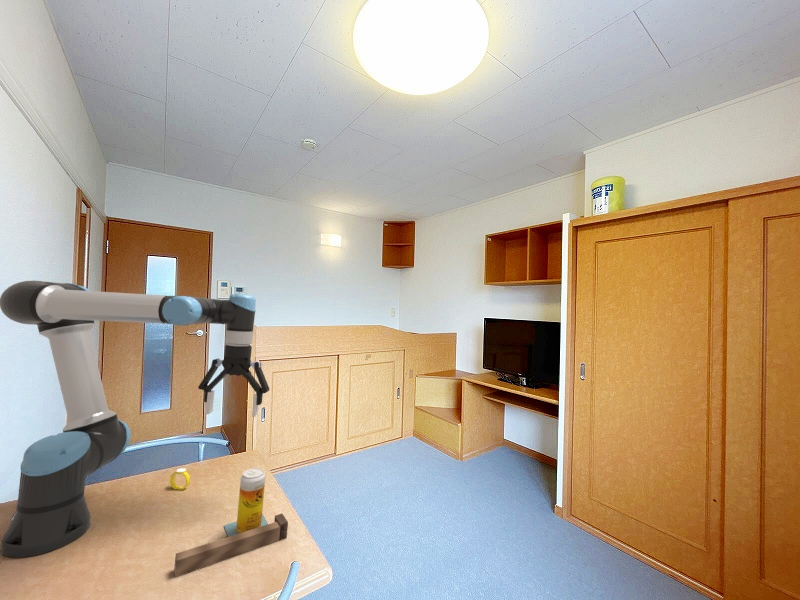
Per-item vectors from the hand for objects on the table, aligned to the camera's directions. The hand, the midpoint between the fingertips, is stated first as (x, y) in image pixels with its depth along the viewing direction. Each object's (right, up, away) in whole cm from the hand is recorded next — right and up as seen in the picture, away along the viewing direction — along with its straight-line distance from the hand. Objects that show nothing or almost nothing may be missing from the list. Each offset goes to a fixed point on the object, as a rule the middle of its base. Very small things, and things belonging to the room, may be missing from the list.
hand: (232, 414), depth 103 cm
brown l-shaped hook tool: (+11, -26, -20) cm, 35 cm away
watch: (-20, -26, +5) cm, 33 cm away
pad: (+10, -27, -12) cm, 31 cm away
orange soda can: (+11, -27, -13) cm, 32 cm away
